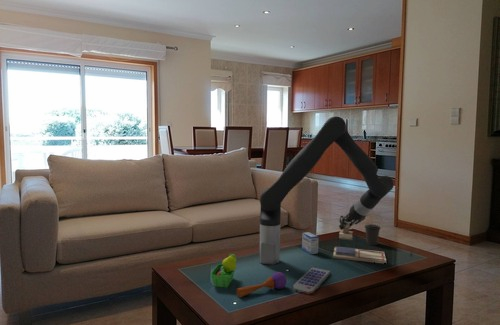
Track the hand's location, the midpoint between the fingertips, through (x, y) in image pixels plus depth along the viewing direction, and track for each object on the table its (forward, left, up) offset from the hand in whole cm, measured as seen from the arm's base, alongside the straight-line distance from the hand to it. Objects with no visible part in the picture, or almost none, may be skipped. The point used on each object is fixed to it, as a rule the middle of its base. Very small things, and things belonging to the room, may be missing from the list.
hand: (343, 227), depth 172 cm
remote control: (-38, +11, -13) cm, 42 cm away
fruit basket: (-49, +43, -13) cm, 66 cm away
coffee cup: (+21, -14, -13) cm, 28 cm away
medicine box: (-2, +16, -13) cm, 20 cm away
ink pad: (-1, -1, -12) cm, 12 cm away
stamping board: (-1, -8, -13) cm, 15 cm away
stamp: (-2, -1, -5) cm, 5 cm away
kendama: (-52, +27, -13) cm, 60 cm away
